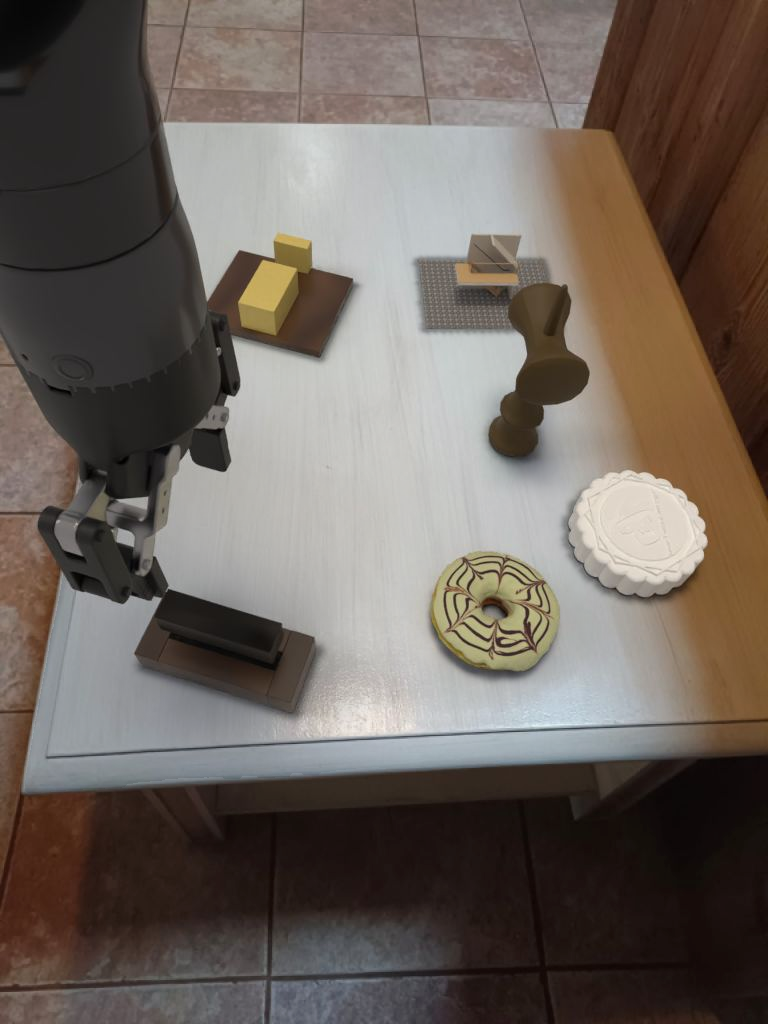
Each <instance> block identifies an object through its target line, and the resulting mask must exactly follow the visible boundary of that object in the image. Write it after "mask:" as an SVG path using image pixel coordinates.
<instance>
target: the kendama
mask: <svg viewBox="0 0 768 1024" xmlns="http://www.w3.org/2000/svg"><path fill="white" fill-rule="evenodd" d="M571 309H572V298H571V296H570V293H569V287H568V285H567V284H566V283H563V284H562V285H559V284H555V283H551V282H547V283H539V284H532V285H530V286H527V287H525V288H522V289H521V290H520V291H519V292H518V293H517V294H515V295H514V296H513V298H512V300H511V302H510V304H509V307H508V319H509V321H510V323H511V325H512V326H513V328H514V330H515V331H516V332H517V333H519V335H520V336H522V337H523V340H524V344H525V350H526V357H525V359H524V362H523V364H522V366H521V368H520V370H519V371H518V373H517V375H516V376H515V386H514V387H515V388H514V390H513V391H511V392H508V393H507V394H504V395H503V397H502V398H501V401H500V404H499V412H500V415H499V416H497V417H495V418H493V419H492V421H491V423H490V425H489V428H488V438H489V441H490V444H491V445H492V447H493V448H494V449H495V451H497V452H499V453H501V454H502V455H505V456H509V457H515V458H516V457H523V456H527V455H529V454H531V453H533V452H534V451H535V449H536V448H537V446H538V444H539V432H538V429H537V428H538V427H540V426H541V425H542V424H543V421H544V419H545V409H544V406H555V405H560V404H564V403H567V402H570V401H572V400H574V399H575V398H576V397H578V396H580V394H582V392H583V391H584V389H585V388H586V387H587V385H588V384H589V379H590V373H591V371H590V369H589V365H588V364H587V362H586V360H584V359H583V358H582V357H580V356H578V355H576V354H575V353H573V352H572V351H570V350H569V349H568V346H567V343H566V338H565V327H566V324H567V322H568V319H569V316H570V314H571Z"/></svg>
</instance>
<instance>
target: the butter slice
mask: <svg viewBox="0 0 768 1024" xmlns="http://www.w3.org/2000/svg"><path fill="white" fill-rule="evenodd" d="M272 242H273V252H274V253H273V254H274V259H275V263H277V264H281V265H285V266H289V267H293V268H297V271H298V272H302V273H306V274H308V273H309V272H310V270H311V268H313V242H312V240H311V239H306V238H302V237H297V236H295V235H289V234H285V233H282V232H277V233H276V235H275V237H274V238H273V241H272Z"/></svg>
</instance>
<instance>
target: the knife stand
mask: <svg viewBox="0 0 768 1024" xmlns="http://www.w3.org/2000/svg"><path fill="white" fill-rule="evenodd" d="M166 592H167V591H166ZM166 592H165V594H166ZM165 594H164V596H165ZM164 596H163V598H164ZM163 598H160V600H159V603H158V605H157V607H156V609H155V610H154V613H153V615H152V617H151V619H150V621H149V623H148V625H147V626H146V629H145V631H144V632H143V634H142V636H141V638H140V641H139V642H138V644H137V647H136V649H135V650H134V652H133V654H134V656H135V657H136V659H137V660H138V662H139V664H140V665H141V666H142V667H143V668H147V669H149V670H153V671H156V672H159V673H163V674H164V675H165V674H166V675H168V676H171V677H175V678H178V679H181V680H185V681H188V682H191V683H193V684H197V685H200V686H203V687H207V688H209V689H213V690H216V691H219V692H223V693H225V694H228V695H233V696H234V697H235V696H236V697H238V698H242V699H245V700H248V701H251V702H253V703H257V704H261V705H264V706H267V707H271V708H272V709H276V710H280V711H282V712H286V713H289V714H294V711H295V708H296V706H297V703H298V700H299V697H300V695H301V692H302V689H303V686H304V684H305V681H306V678H307V676H308V673H309V670H310V668H311V665H312V662H313V659H314V656H315V653H316V649H317V648H316V637H315V636H312V635H309V634H305V633H303V632H300V631H296V630H293V629H292V630H291V629H289V628H286V627H283V633H284V637H283V639H282V642H281V644H280V647H279V650H278V652H277V655H276V661H277V669H276V671H273V670H270V669H266V668H263V667H260V666H257V665H253V664H250V663H247V662H244V661H241V660H237V659H234V658H231V657H228V656H225V655H221V654H218V653H215V652H212V651H208V650H205V649H202V648H199V647H196V646H192V645H189V644H186V643H183V641H181V640H182V639H181V637H180V635H178V634H174V633H171V632H168V631H165V630H161V629H160V627H159V625H158V623H157V622H156V620H155V618H154V616H155V614H156V612H157V610H158V608H159V606H160V604H161V602H162V600H163Z"/></svg>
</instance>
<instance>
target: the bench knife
mask: <svg viewBox="0 0 768 1024" xmlns="http://www.w3.org/2000/svg"><path fill="white" fill-rule="evenodd" d="M154 618H155V620H156V622H157V623H158V625H159V627H160V629H161V630H165V631H168V632H171V633H174V634H178V635H180V637H181V640H182V641H181V642H183V643H186V644H189V645H192V646H196V647H199V648H202V649H205V650H208V651H212V652H215V653H218V654H221V655H225V656H228V657H231V658H234V659H237V660H241V661H244V662H247V663H250V664H253V665H257V666H260V667H263V668H266V669H270V670H273V671H276V669H277V666H278V663H277V661H276V655H277V652H278V650H279V647H280V644H281V642H282V639H283V637H284V633H283V628H284V627H283V623H282V622H279V621H276V620H272V619H270V618H266V617H263V616H259V615H256V614H252V613H250V612H245V611H243V610H239V609H237V608H233V607H230V606H226V605H223V604H220V603H217V602H213V601H210V600H207V599H204V598H200V597H197V596H194V595H190V594H187V593H184V592H180V591H177V590H174V589H171V588H167V590H166V594H165V596H164V598H163V600H162V602H161V604H160V606H159V608H158V610H157V612H156V614H155V616H154Z"/></svg>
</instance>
